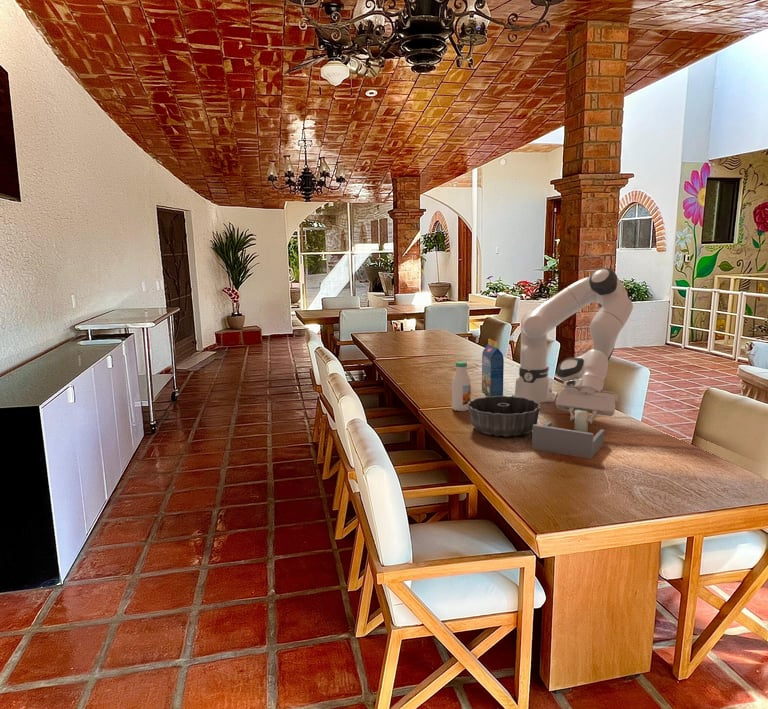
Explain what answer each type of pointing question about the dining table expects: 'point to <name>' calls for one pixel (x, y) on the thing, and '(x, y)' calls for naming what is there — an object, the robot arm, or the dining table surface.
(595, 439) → the grey open tray
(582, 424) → the dome-topped cream cylinder
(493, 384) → the blue food package
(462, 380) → the milk bottle
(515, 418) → the bundt pan
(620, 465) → the dining table surface
